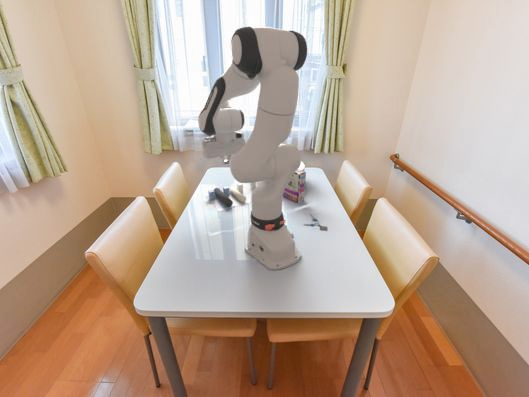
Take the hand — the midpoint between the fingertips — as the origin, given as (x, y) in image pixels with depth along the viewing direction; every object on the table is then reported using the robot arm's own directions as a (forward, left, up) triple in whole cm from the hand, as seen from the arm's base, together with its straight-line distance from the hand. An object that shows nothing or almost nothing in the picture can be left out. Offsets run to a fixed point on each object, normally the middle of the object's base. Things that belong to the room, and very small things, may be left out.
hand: (226, 164), depth 125 cm
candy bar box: (-15, -29, -20) cm, 39 cm away
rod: (+1, -5, -19) cm, 20 cm away
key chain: (-38, -23, -21) cm, 49 cm away
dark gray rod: (+1, +3, -19) cm, 19 cm away
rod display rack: (+1, -5, -20) cm, 21 cm away
